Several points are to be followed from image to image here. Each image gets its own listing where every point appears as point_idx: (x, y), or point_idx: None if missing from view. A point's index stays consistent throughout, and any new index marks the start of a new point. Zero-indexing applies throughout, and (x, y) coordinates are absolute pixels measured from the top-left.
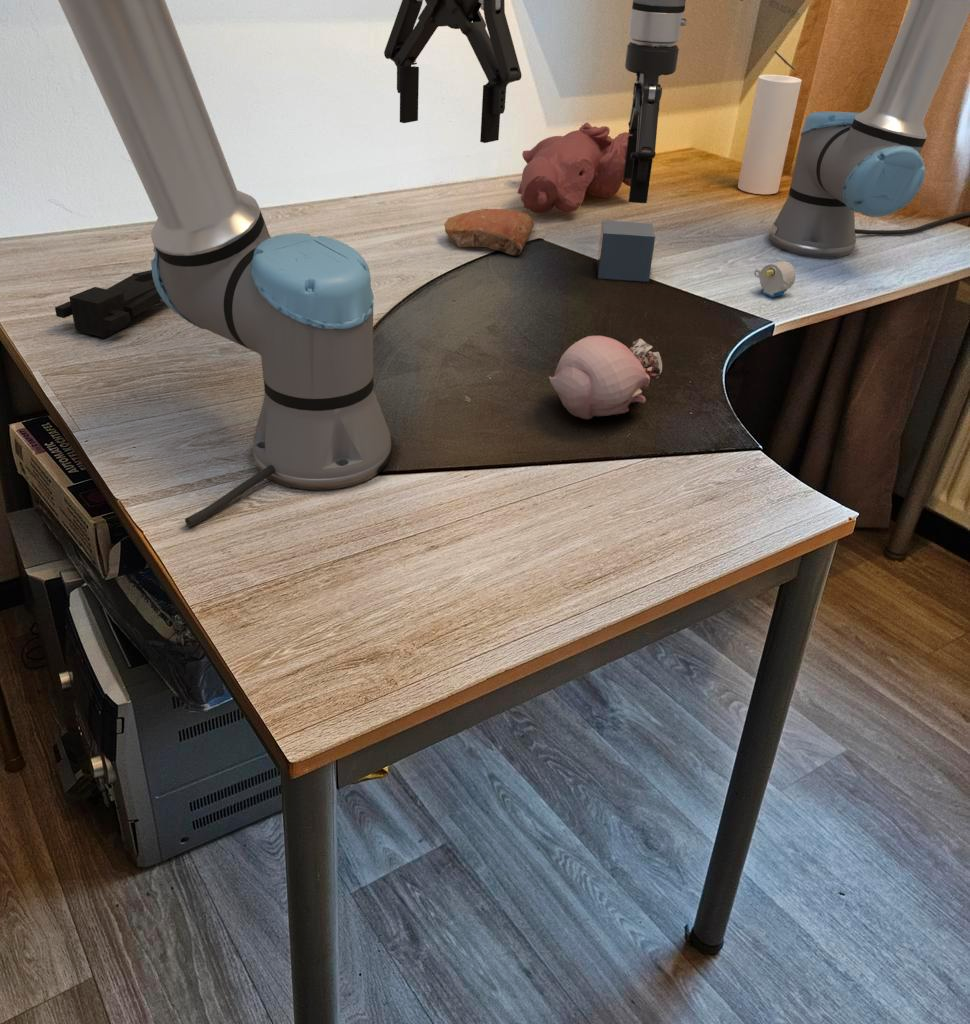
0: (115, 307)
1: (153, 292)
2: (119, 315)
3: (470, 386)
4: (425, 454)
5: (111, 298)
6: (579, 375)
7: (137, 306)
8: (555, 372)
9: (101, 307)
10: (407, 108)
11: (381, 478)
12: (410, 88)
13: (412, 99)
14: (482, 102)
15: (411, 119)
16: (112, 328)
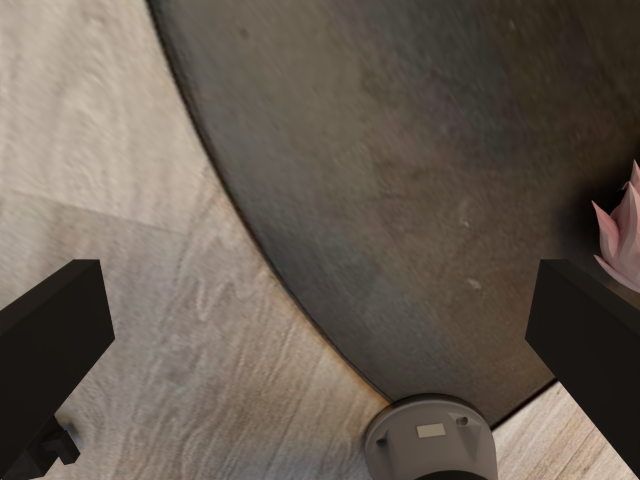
0: (39, 444)
1: None
2: (62, 449)
3: (458, 258)
4: (503, 389)
5: (32, 458)
6: None
7: None
8: (616, 269)
9: (45, 467)
10: (82, 355)
11: (493, 435)
12: (16, 401)
13: (51, 347)
14: (625, 461)
15: (101, 301)
16: (79, 454)
